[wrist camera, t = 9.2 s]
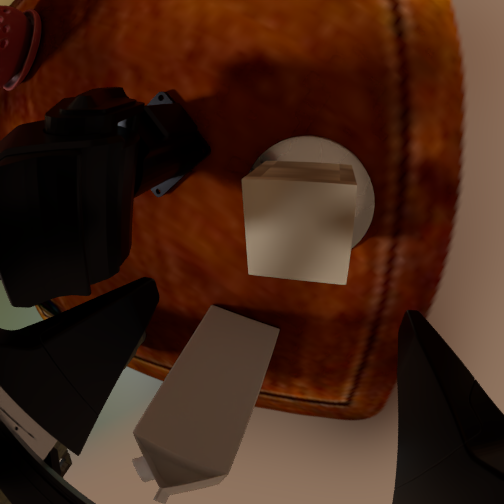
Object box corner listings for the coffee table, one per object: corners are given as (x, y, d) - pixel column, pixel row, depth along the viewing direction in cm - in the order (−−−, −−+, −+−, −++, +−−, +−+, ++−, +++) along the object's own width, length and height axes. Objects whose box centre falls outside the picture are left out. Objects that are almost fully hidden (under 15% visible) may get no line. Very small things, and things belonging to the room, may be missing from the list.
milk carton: (280, 327, 26) (208, 521, 10) (264, 366, 30) (203, 518, 14) (212, 302, 27) (105, 473, 11) (206, 344, 31) (126, 484, 15)
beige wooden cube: (268, 236, 20) (248, 274, 16) (265, 160, 18) (241, 179, 13) (345, 243, 19) (345, 284, 15) (351, 164, 16) (357, 185, 12)
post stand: (292, 271, 22) (281, 307, 19) (225, 180, 20) (197, 199, 16) (393, 221, 18) (406, 252, 14) (327, 110, 16) (324, 109, 12)
